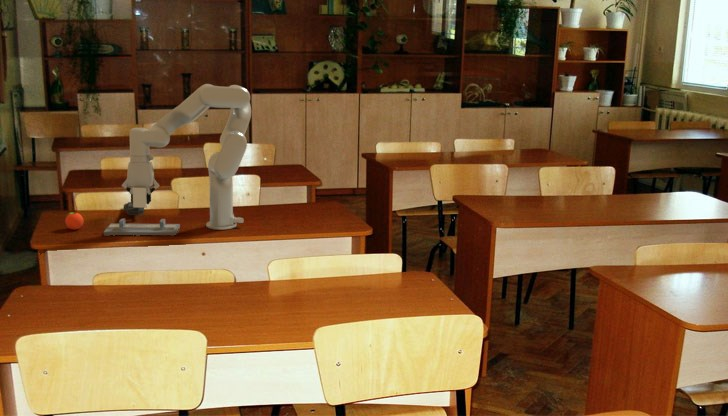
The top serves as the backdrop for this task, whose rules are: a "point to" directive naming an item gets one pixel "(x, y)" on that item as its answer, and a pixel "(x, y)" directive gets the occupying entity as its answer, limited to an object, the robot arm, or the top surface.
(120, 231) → the board
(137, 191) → the block
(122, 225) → the rail
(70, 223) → the clementine
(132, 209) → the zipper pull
